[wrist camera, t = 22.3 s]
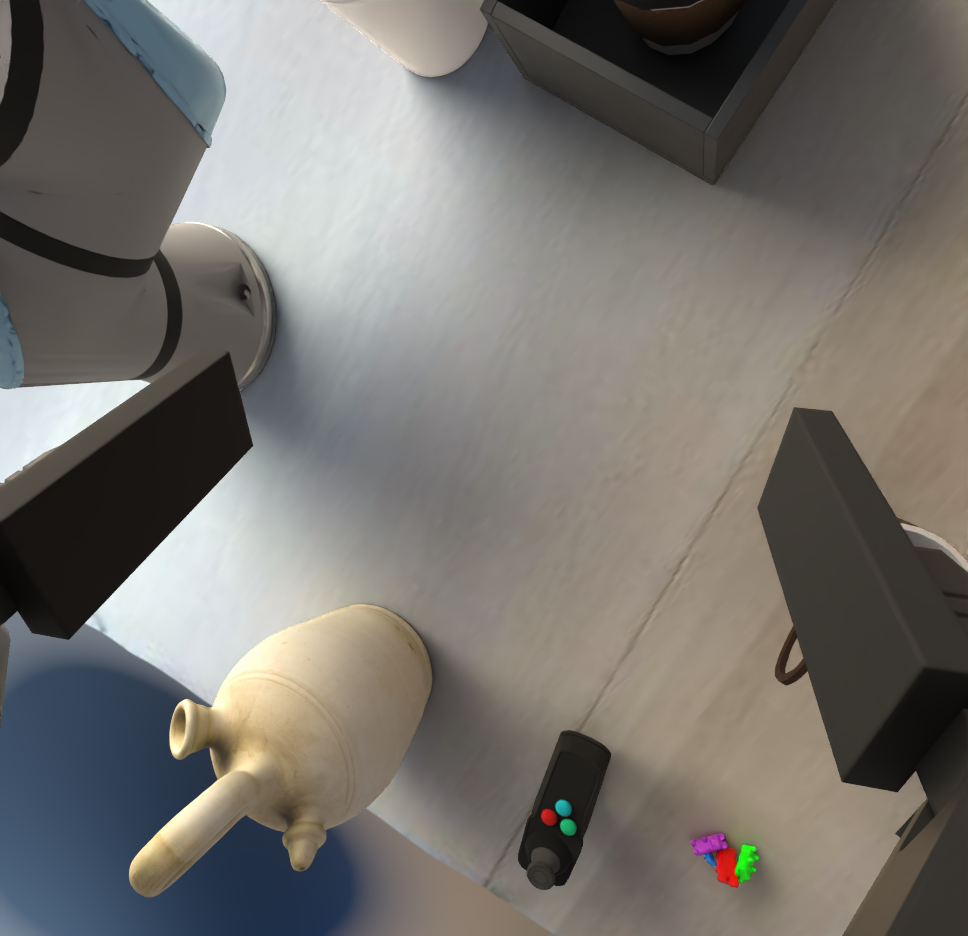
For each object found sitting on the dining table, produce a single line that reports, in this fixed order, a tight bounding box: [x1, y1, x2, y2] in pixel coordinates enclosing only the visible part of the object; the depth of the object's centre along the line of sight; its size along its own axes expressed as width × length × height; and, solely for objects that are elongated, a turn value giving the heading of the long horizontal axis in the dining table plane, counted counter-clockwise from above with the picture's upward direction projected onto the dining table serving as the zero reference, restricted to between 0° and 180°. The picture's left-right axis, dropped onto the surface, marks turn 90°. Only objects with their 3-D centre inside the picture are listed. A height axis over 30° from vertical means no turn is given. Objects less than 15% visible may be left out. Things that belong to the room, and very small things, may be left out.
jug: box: [129, 604, 432, 897], centre depth 44 cm, size 15×16×25 cm
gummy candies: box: [691, 833, 759, 888], centre depth 45 cm, size 5×3×4 cm, turn 80°
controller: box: [518, 730, 611, 890], centre depth 45 cm, size 4×12×10 cm, turn 165°
